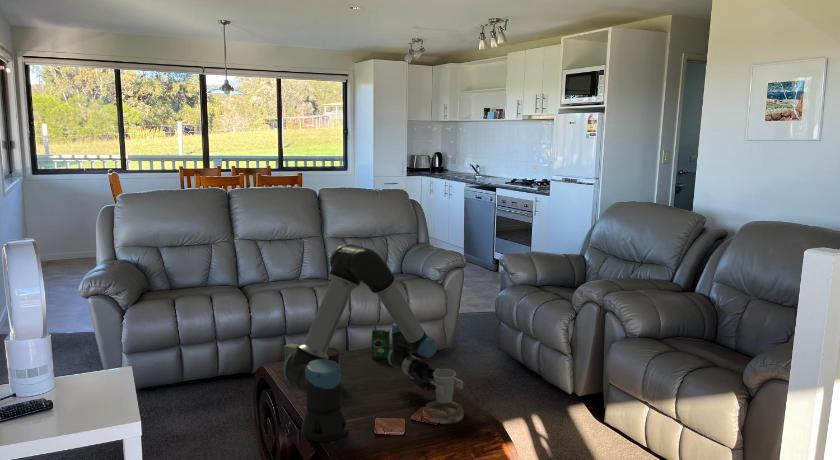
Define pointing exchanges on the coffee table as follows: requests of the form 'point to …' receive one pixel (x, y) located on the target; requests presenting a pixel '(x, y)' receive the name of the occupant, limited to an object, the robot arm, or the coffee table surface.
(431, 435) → the coffee table surface
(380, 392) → the coffee table surface
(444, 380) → the dixie cup
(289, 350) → the skincare box
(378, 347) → the coffee box
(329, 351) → the coffee can
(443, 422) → the rimmed coaster
